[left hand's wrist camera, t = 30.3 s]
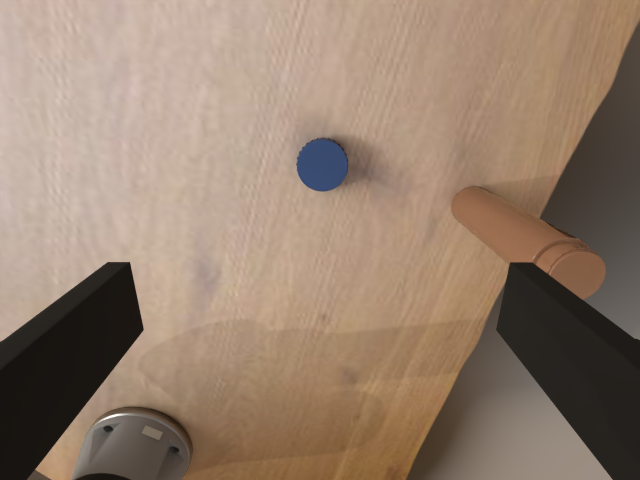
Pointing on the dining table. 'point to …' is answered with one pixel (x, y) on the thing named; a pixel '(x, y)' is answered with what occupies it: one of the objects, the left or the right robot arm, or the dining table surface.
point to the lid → (322, 164)
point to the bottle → (529, 240)
